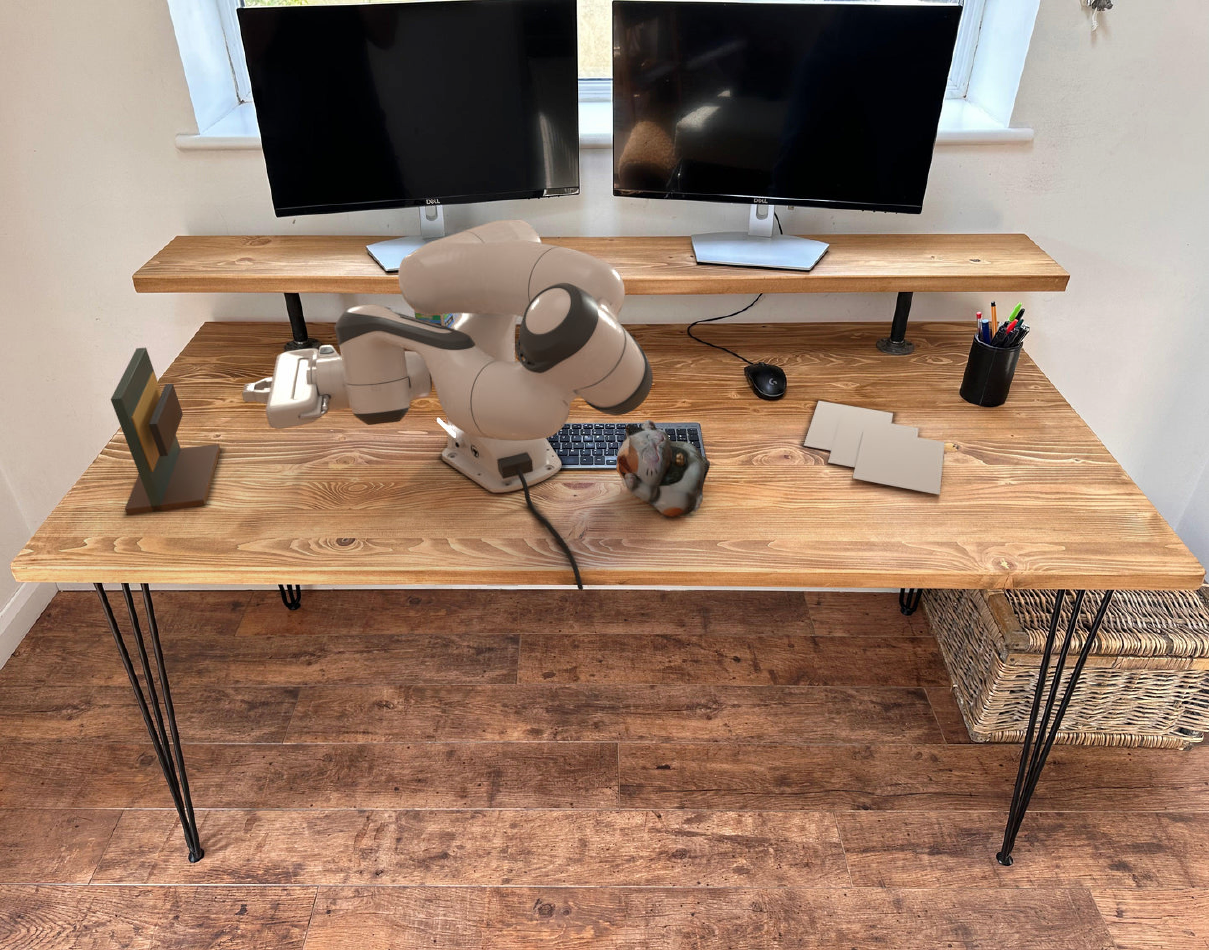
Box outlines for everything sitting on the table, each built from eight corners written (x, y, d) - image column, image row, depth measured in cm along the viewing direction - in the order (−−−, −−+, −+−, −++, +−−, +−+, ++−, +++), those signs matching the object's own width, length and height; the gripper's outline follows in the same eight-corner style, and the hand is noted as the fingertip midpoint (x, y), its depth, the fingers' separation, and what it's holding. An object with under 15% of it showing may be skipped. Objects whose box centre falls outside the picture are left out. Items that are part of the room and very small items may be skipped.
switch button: (183, 414, 150) (172, 383, 147) (168, 455, 140) (156, 423, 136) (175, 415, 150) (165, 384, 147) (160, 456, 140) (148, 424, 136)
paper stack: (795, 470, 150) (795, 467, 150) (818, 400, 170) (818, 397, 169) (938, 497, 144) (939, 494, 143) (946, 421, 163) (946, 418, 162)
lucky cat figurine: (694, 527, 138) (654, 468, 130) (631, 530, 145) (589, 474, 137) (721, 456, 146) (684, 397, 138) (660, 462, 154) (622, 406, 146)
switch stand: (220, 449, 158) (187, 343, 146) (205, 505, 144) (167, 393, 132) (149, 457, 156) (110, 350, 144) (126, 515, 142) (81, 402, 130)
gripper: (332, 432, 139) (240, 443, 137) (337, 372, 155) (255, 380, 153) (324, 398, 135) (229, 408, 133) (330, 340, 152) (246, 348, 149)
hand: (243, 393), depth 143 cm, fingers closed
